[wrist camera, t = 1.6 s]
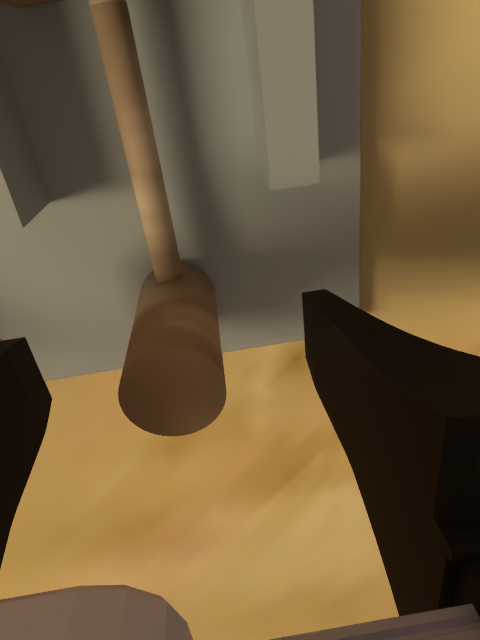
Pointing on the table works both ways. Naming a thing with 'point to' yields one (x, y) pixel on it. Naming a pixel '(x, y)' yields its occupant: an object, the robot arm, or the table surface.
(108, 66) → the block
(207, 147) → the lane shelf
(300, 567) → the table surface
